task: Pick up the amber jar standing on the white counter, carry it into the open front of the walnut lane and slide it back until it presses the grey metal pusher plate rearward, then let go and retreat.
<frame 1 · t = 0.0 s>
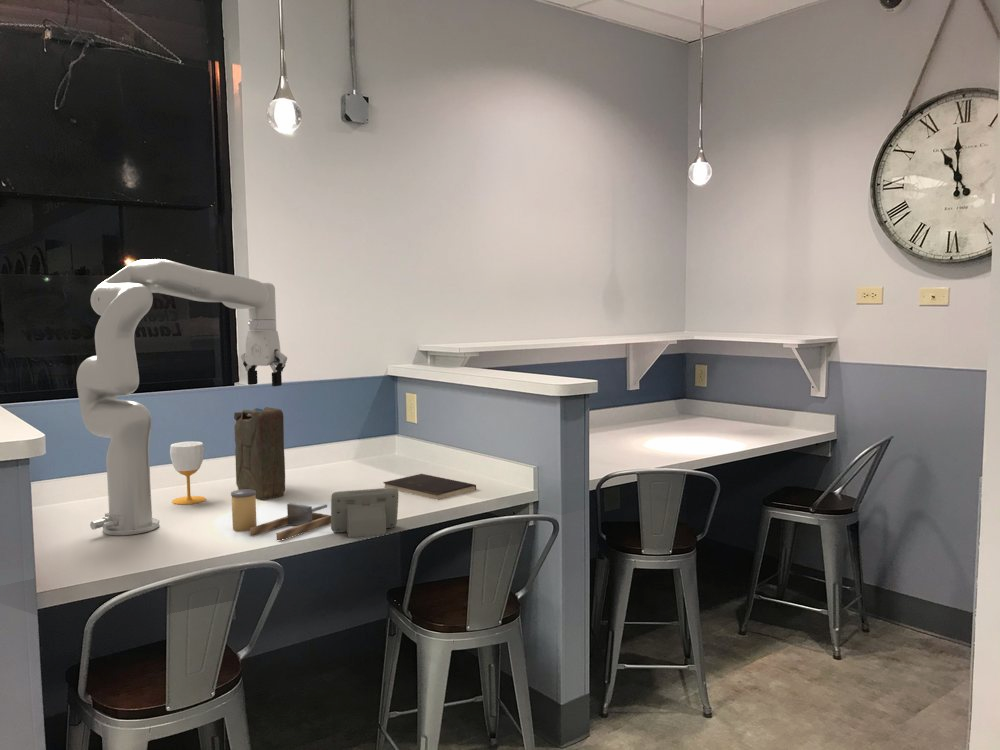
hand: (264, 385, 236), 31 cm above the table, fingers open, 9 cm apart
hardcover book: (429, 491, 240), on the table
pusher: (312, 511, 205), point 3 cm above the table, slide at 0.0 cm
digital clock: (365, 532, 196), on the table
lane: (292, 528, 199), on the table
canister: (260, 494, 236), on the table
jar: (244, 528, 200), on the table
cup: (189, 501, 228), on the table
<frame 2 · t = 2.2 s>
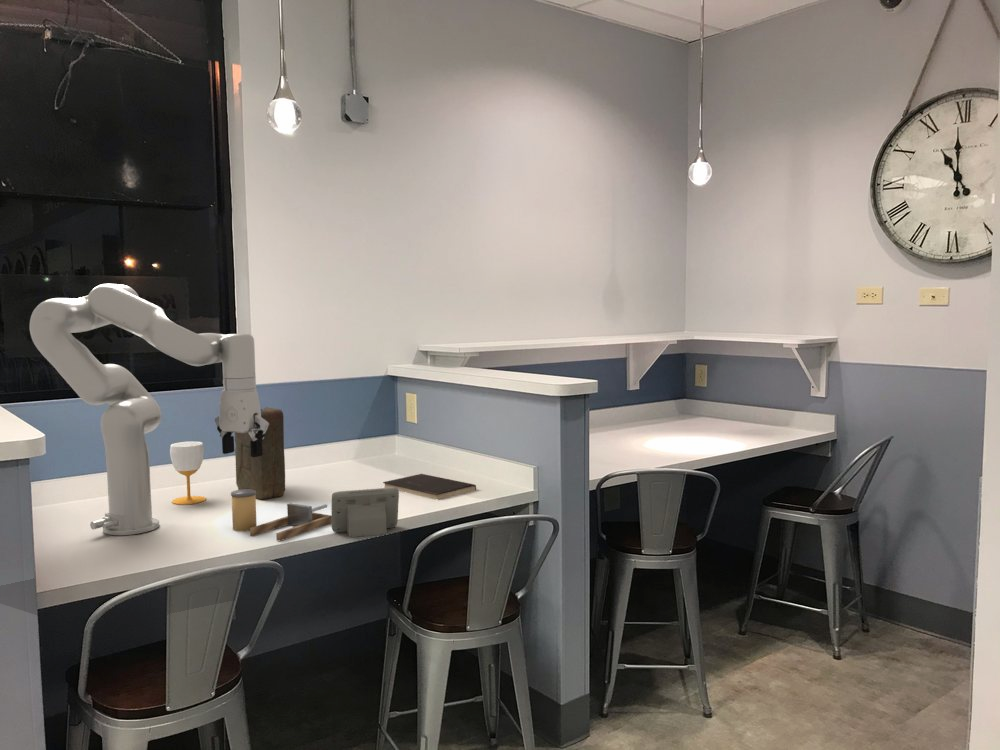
hand: (242, 454, 199), 18 cm above the table, fingers open, 9 cm apart
nothing on the table moved.
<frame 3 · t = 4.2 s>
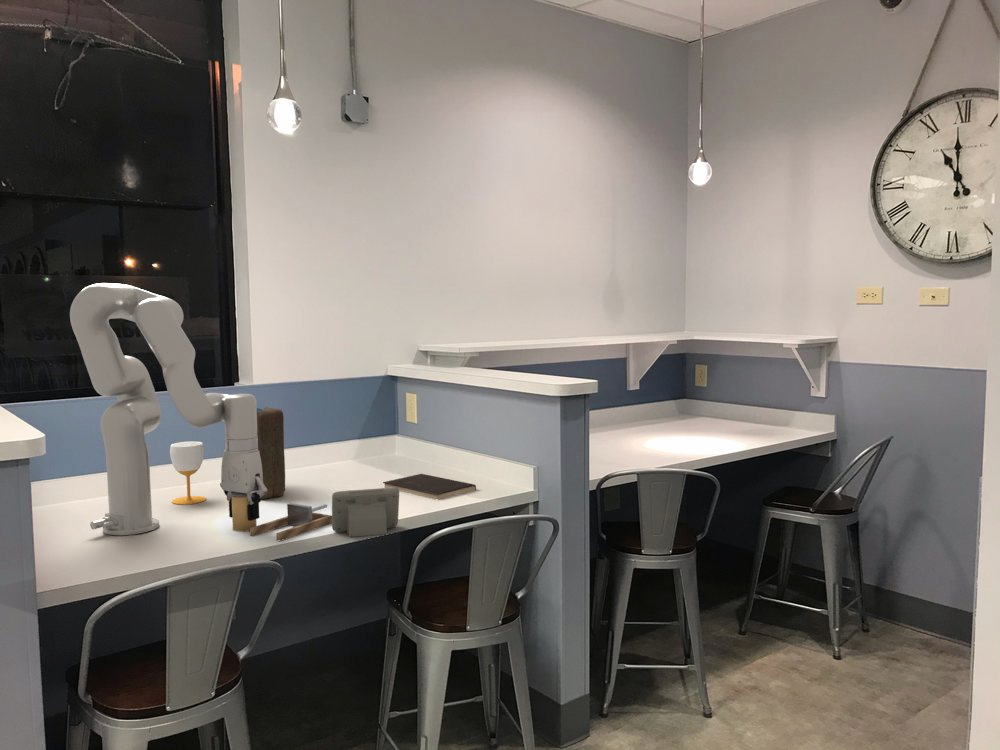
hand: (244, 517, 200), 3 cm above the table, fingers closed on jar, 5 cm apart
jar: (244, 528, 200), on the table, touching gripper
everything else where it was.
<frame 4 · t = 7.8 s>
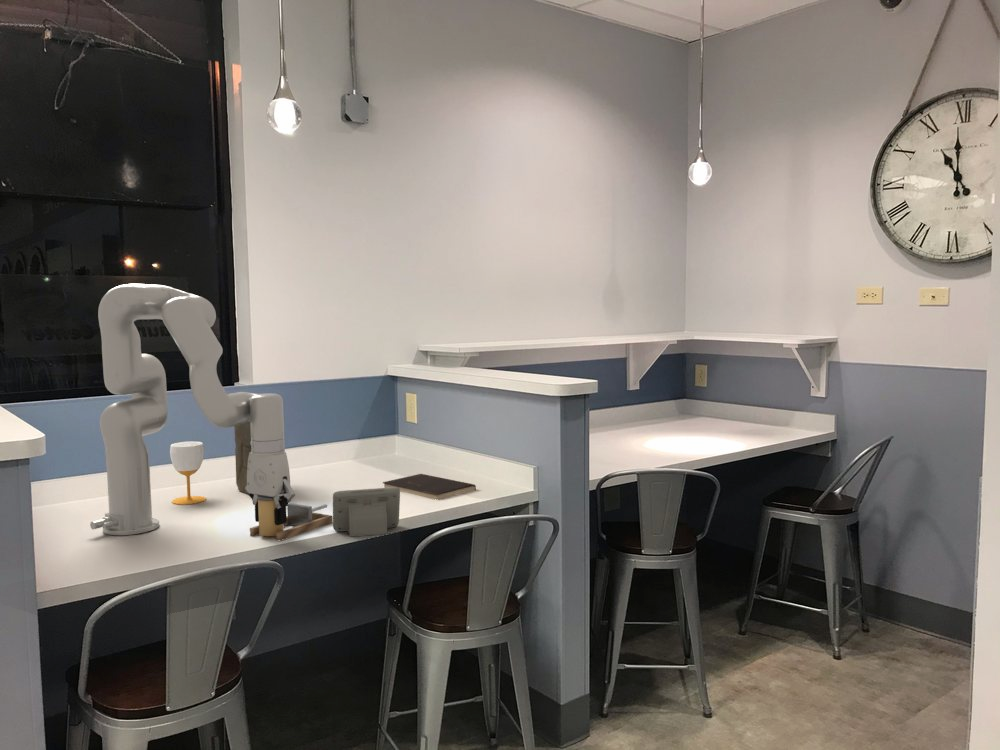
hand: (271, 521, 193), 4 cm above the table, fingers closed on jar, 5 cm apart
jar: (271, 532, 193), point 1 cm above the table, touching gripper
everything else where it was.
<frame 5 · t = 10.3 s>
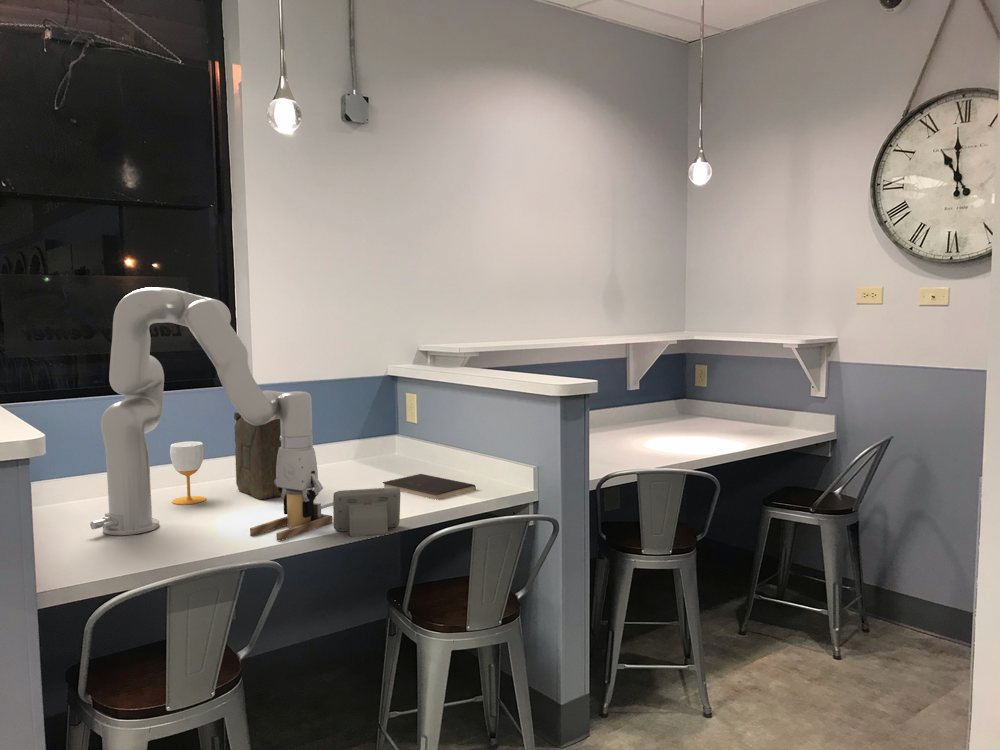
hand: (298, 514, 201), 3 cm above the table, fingers closed on jar, 5 cm apart
pusher: (321, 508, 208), point 3 cm above the table, slide at 3.3 cm
jar: (299, 525, 201), resting in lane, touching gripper
everything else where it was.
when the fingers open (3 cm above the table, at t = 11.3 s): jar stays where it is, resting in lane.
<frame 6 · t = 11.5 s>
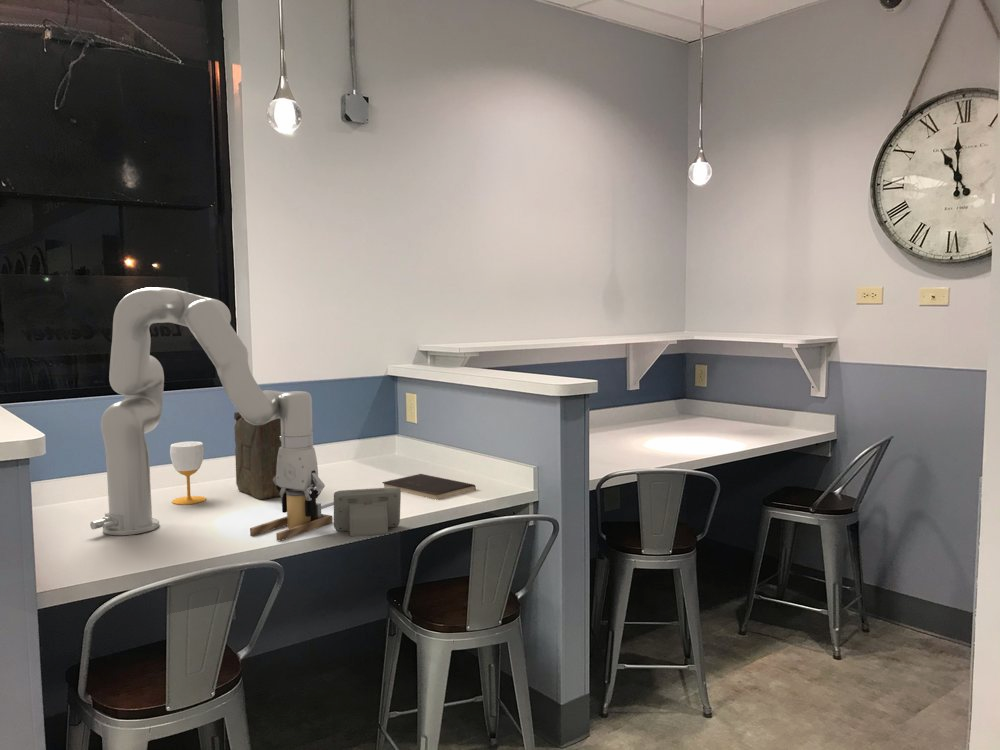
hand: (299, 512, 201), 3 cm above the table, fingers open, 7 cm apart
jar: (299, 526, 201), resting in lane
everything else where it was.
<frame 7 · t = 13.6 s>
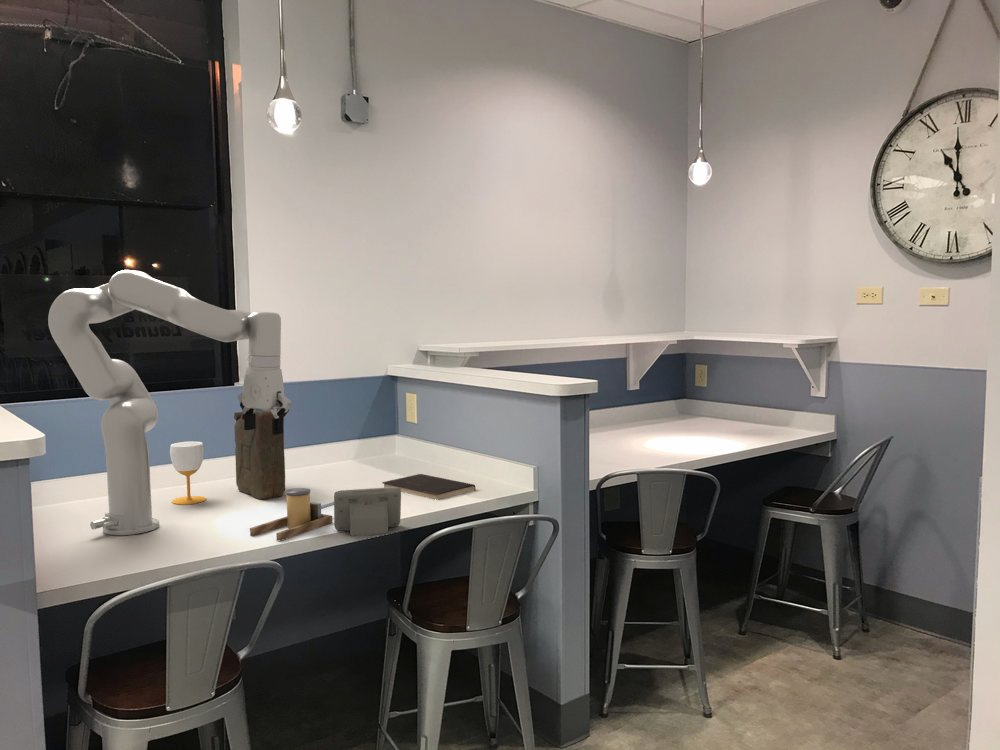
hand: (263, 431, 201), 23 cm above the table, fingers open, 9 cm apart
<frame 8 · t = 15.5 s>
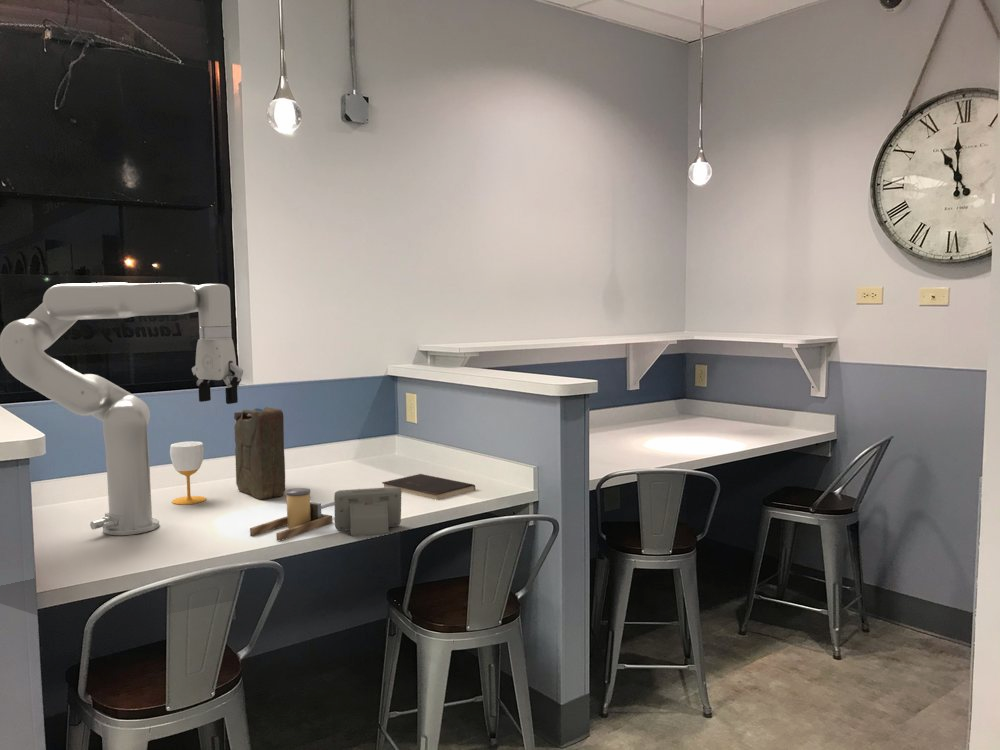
hand: (218, 402, 204), 30 cm above the table, fingers open, 9 cm apart
at the end: jar inside the target area on the lane (2.5 cm from its centre), point 0.0 cm above the lane's base; pusher slide at 3.3 cm; jar tilted 0° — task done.
